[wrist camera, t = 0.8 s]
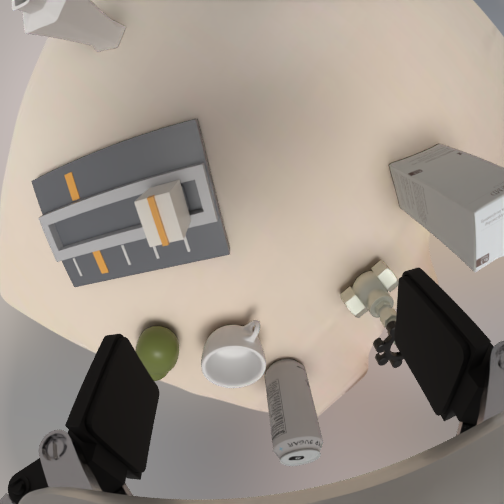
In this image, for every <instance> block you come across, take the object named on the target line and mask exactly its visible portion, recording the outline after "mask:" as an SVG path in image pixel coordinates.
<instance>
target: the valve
mask: <svg viewBox="0 0 504 504" xmlns="http://www.w3.org/2000/svg"><path fill="white" fill-rule="evenodd" d="M371 269H372V271H368V272H365V273H363V274H361V275H360V276H359V277H358V278H357V279H356V281H355V282H354V284H353V287H351V286H350V287H348V288H347V289H346V290H345V291H344V292H342V293H341V299H342V300H343V302H344V304H345V305H346V307H347V308H348V309H349V310H350V312H351V313H352V314H353V315H354V316H355V317H357V318H359V317H361V316H362V315H363V314H364V313H366V312H367V311H368V310H369V312H370V314H371V315H372V316H373V317H377V318H378V317H380V321H381V322H382V324H383V326H384V327H386V329H387V330H388V335H389V336H388V337H387V338H386V339H385V340H384V341H382V340H381V338H377V339H376V340H375V341H374V342H373V345H374V347H375V349H376V351H377V352H378V354H376V356H375V358H376V360H377V362H378V364H379V365H385V364H386V363H387V362H388V360H389V361H390V363H391V364H392V366H393V367H394V368H397V367H399V366H400V365H401V364H402V360H403V359H404V358H403V356H402V354H401V353H400V352H396V353H394V352H391V351H390V348H391V345H392V344H393V343H394V344H395V339H394V335H395V325H396V314H397V313H396V311H395V310H394V309H393V308H392V307H393V304H394V301H393V299H392V297H391V296H390V294H389V293H388V291H389V292H391V291H392V290H393V289H395V288H396V287H397V286H398V282H399V281H398V279H397V278H396V276H395V275H394V274H393V272H392V271H391V270H390V269H389V267H388V266H387V265H386V264H385V263H384V262H383V261H382V260H380V261H379V262H378V263H377V264H375V265H374V266H373V267H372V268H371ZM395 345H396V344H395ZM381 352H384V353H383V354H382V355H379V353H381Z"/></svg>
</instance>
